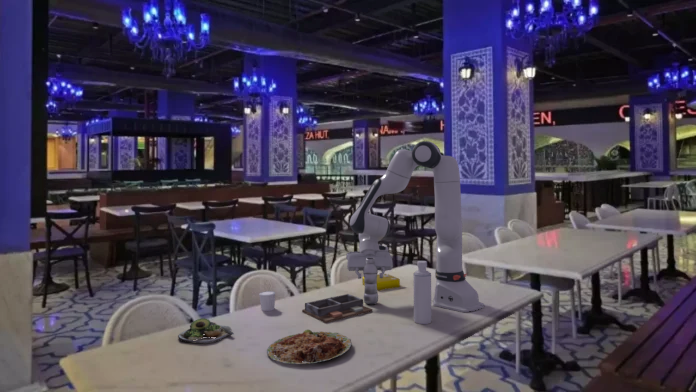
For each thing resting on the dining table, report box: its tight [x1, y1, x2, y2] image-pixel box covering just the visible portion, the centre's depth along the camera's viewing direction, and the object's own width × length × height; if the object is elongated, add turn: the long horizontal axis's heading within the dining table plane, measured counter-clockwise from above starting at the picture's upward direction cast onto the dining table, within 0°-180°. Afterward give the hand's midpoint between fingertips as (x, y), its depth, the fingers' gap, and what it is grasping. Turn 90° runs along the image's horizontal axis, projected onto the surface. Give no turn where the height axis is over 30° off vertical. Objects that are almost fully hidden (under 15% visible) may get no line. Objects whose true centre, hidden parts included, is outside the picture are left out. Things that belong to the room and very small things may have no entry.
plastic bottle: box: [362, 258, 379, 305], centre depth 208 cm, size 6×7×20 cm
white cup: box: [258, 290, 276, 312], centre depth 204 cm, size 7×7×7 cm
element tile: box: [361, 273, 401, 291], centre depth 239 cm, size 15×15×5 cm
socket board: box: [301, 293, 373, 324], centre depth 198 cm, size 18×23×4 cm
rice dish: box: [266, 329, 352, 365], centre depth 158 cm, size 28×28×5 cm
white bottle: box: [413, 260, 432, 325], centre depth 183 cm, size 7×7×25 cm
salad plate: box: [177, 318, 234, 344], centre depth 173 cm, size 19×18×5 cm
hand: (370, 277), depth 207 cm, fingers open, 8 cm apart
